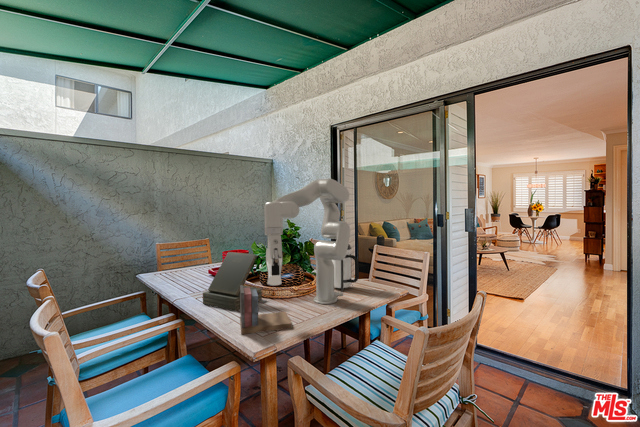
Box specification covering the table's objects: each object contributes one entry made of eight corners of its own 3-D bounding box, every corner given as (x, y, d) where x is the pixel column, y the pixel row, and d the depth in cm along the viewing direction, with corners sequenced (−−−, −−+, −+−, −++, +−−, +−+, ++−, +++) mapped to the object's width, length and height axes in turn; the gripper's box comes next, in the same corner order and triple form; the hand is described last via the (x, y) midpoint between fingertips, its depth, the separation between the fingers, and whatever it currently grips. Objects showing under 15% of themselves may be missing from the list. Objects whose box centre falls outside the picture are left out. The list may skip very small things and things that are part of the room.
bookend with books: (285, 315, 135) (285, 280, 135) (291, 327, 122) (291, 289, 122) (240, 321, 130) (239, 284, 129) (241, 334, 116) (240, 293, 116)
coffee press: (328, 292, 171) (328, 240, 170) (328, 284, 187) (328, 237, 186) (358, 292, 171) (358, 240, 170) (356, 285, 187) (356, 237, 186)
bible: (202, 304, 153) (201, 256, 152) (230, 294, 170) (230, 250, 169) (236, 311, 142) (235, 259, 141) (262, 300, 159) (261, 253, 159)
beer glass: (275, 280, 131) (274, 246, 131) (286, 283, 127) (285, 248, 127) (262, 284, 126) (262, 248, 126) (273, 286, 122) (273, 250, 121)
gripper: (286, 232, 119) (286, 277, 119) (279, 229, 135) (279, 268, 136) (267, 233, 117) (268, 278, 117) (262, 229, 133) (263, 269, 134)
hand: (274, 272), depth 126 cm, fingers closed on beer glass, 6 cm apart
